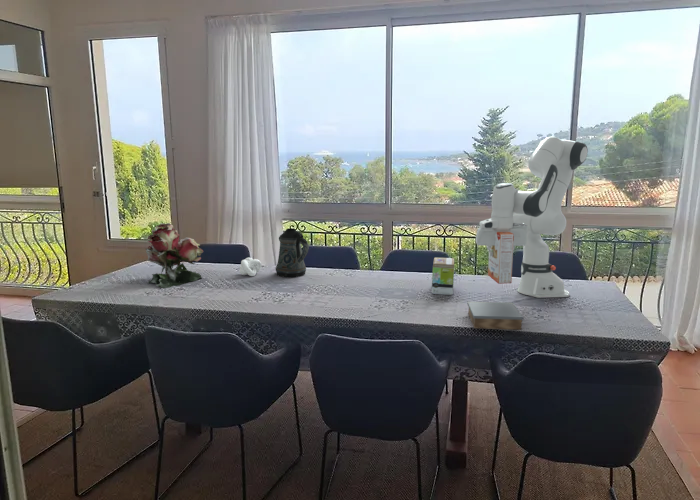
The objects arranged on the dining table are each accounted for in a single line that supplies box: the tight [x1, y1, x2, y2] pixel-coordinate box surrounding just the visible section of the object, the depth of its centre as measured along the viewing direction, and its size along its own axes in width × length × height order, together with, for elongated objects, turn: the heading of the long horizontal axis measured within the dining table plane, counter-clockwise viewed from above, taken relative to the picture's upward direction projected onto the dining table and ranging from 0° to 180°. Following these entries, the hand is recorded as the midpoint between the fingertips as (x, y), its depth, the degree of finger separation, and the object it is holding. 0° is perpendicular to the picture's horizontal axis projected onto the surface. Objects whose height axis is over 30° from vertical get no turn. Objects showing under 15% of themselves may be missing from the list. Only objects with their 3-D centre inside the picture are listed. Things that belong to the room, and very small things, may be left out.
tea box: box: [431, 257, 455, 296], centre depth 234 cm, size 15×10×15 cm
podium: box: [467, 301, 525, 330], centre depth 191 cm, size 18×18×5 cm
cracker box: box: [487, 232, 514, 285], centre depth 205 cm, size 14×6×21 cm, turn 1°
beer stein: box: [275, 227, 310, 279], centre depth 266 cm, size 16×19×25 cm
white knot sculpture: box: [239, 257, 262, 277], centre depth 267 cm, size 11×12×9 cm
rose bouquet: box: [145, 222, 204, 289], centre depth 255 cm, size 26×29×30 cm
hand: (500, 256), depth 205 cm, fingers closed on cracker box, 6 cm apart
